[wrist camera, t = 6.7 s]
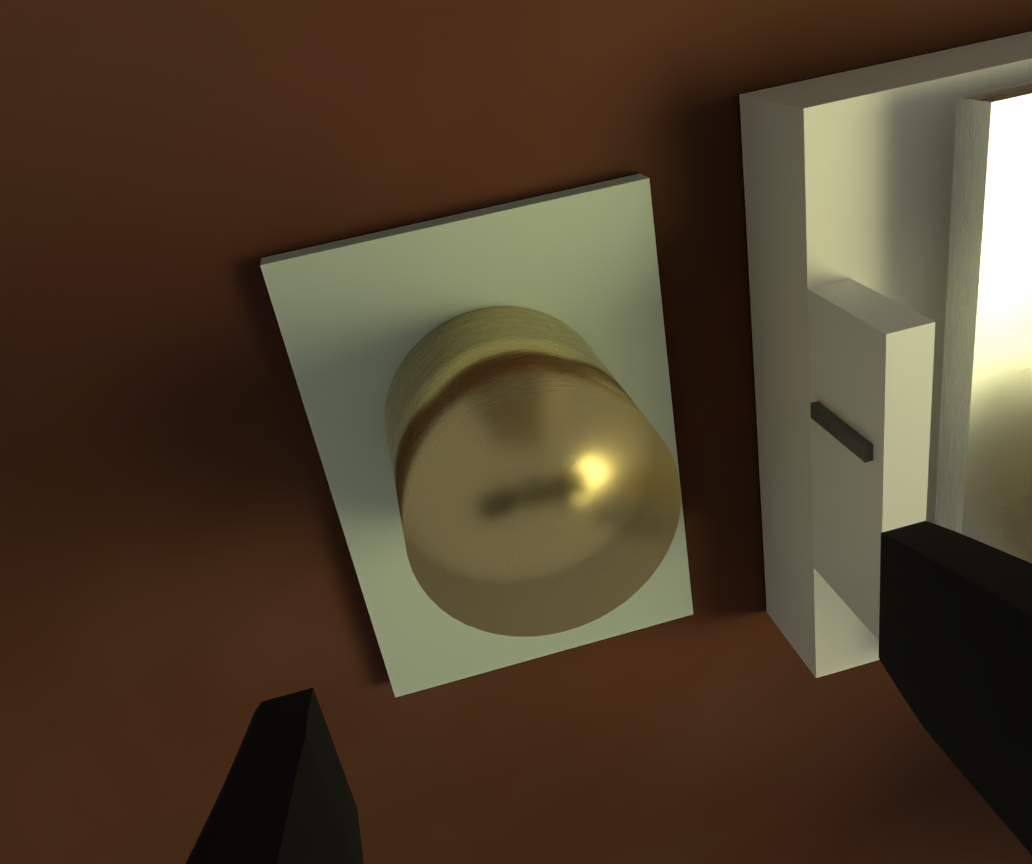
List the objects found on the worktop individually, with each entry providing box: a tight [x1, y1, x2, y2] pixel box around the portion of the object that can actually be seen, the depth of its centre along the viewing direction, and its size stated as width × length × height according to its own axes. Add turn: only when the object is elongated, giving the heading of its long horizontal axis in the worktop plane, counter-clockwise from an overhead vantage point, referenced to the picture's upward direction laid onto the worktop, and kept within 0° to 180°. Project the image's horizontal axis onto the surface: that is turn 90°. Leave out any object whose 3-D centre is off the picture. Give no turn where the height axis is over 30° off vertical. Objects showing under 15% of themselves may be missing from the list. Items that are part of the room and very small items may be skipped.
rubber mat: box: [260, 174, 693, 697], centre depth 18 cm, size 10×7×1 cm
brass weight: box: [385, 306, 681, 637], centre depth 16 cm, size 4×4×4 cm
